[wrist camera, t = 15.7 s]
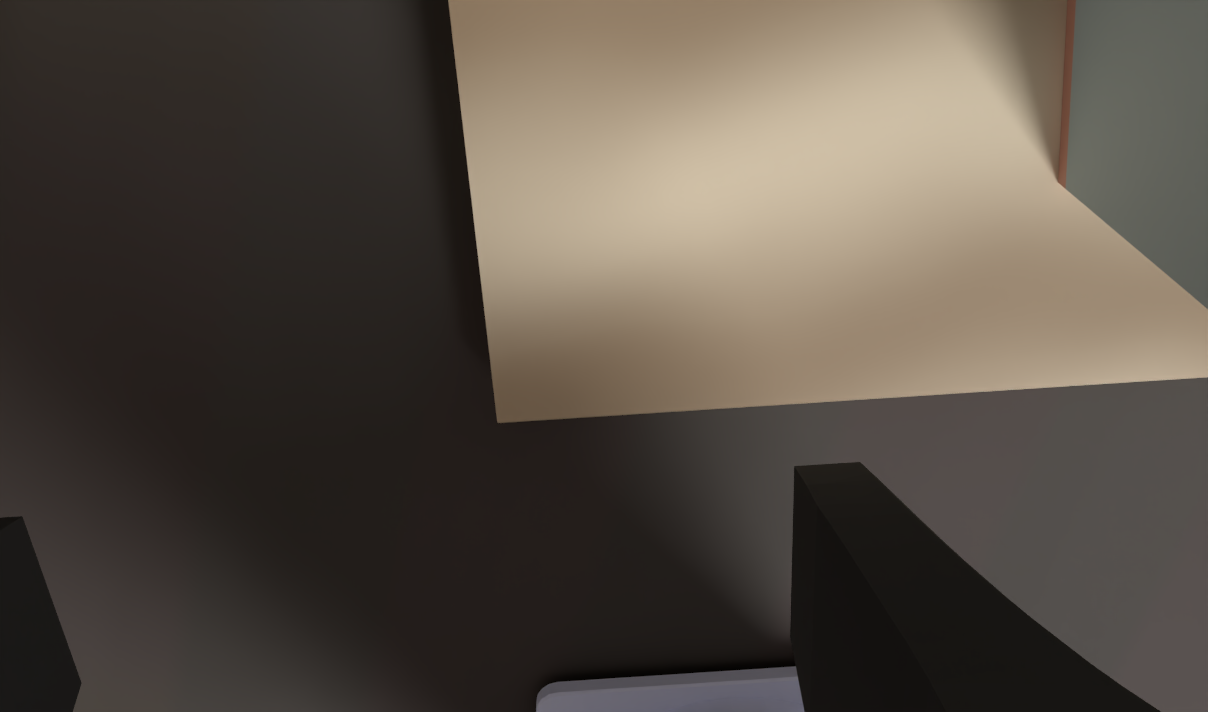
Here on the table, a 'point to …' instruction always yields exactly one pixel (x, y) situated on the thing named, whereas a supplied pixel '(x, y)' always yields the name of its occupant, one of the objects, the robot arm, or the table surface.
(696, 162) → the birch board
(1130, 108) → the block
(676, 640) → the table surface
